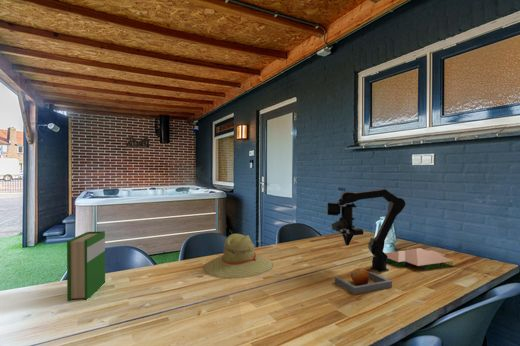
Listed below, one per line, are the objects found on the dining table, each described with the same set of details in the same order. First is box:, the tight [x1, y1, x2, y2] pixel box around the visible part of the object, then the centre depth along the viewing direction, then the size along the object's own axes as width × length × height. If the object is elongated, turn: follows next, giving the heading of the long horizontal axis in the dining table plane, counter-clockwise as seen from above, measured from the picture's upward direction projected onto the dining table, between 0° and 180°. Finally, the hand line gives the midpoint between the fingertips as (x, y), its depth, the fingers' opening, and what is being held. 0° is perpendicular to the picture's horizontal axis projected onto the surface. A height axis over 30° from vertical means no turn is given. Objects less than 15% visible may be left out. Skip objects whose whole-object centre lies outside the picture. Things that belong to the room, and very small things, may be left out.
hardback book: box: [66, 230, 106, 302], centre depth 122 cm, size 18×7×24 cm, turn 8°
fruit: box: [350, 267, 371, 286], centre depth 128 cm, size 8×8×8 cm
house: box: [384, 247, 456, 270], centre depth 158 cm, size 23×33×8 cm
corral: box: [334, 271, 393, 295], centre depth 127 cm, size 20×14×2 cm
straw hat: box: [202, 233, 275, 280], centre depth 155 cm, size 38×40×17 cm
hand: (347, 245), depth 149 cm, fingers closed
